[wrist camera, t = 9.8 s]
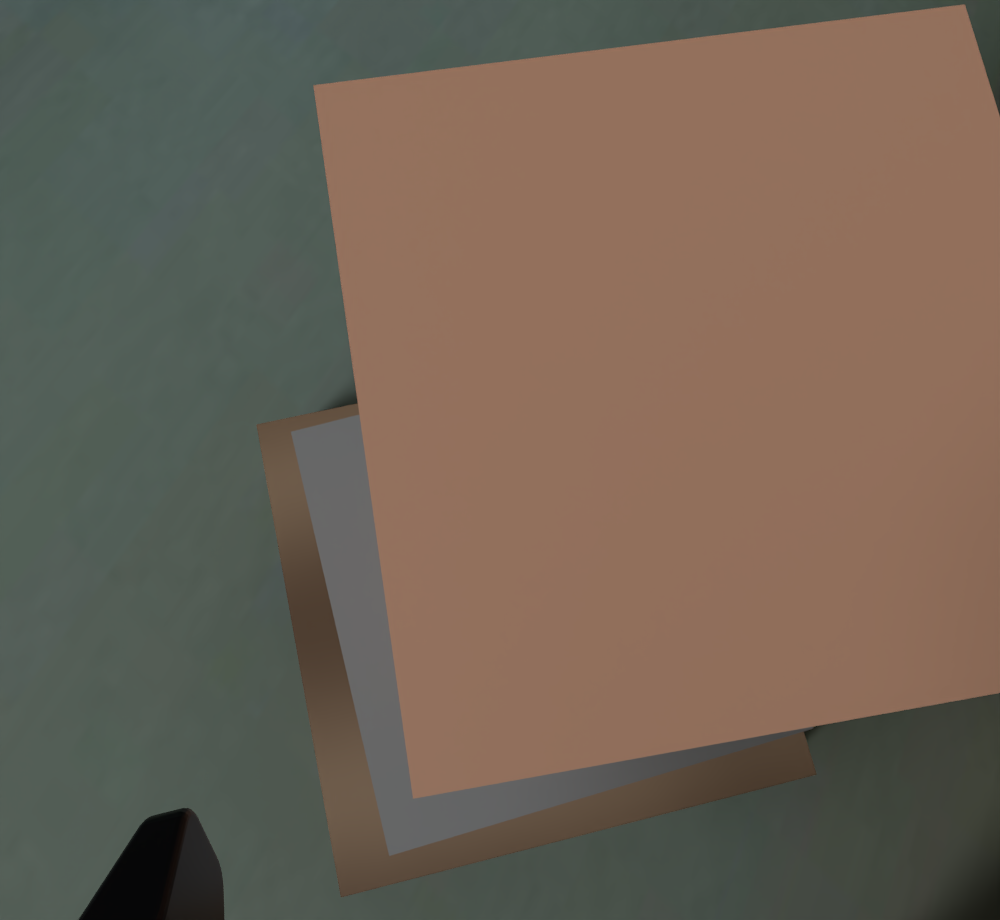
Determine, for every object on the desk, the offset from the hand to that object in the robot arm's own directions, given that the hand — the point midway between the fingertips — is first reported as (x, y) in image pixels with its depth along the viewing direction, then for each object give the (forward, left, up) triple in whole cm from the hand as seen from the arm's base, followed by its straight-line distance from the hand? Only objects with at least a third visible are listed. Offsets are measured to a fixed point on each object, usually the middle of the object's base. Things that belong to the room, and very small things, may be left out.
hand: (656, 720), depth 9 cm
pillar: (+3, 0, -8) cm, 8 cm away
